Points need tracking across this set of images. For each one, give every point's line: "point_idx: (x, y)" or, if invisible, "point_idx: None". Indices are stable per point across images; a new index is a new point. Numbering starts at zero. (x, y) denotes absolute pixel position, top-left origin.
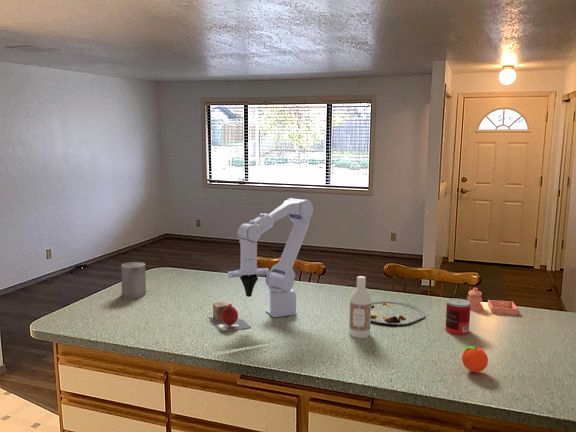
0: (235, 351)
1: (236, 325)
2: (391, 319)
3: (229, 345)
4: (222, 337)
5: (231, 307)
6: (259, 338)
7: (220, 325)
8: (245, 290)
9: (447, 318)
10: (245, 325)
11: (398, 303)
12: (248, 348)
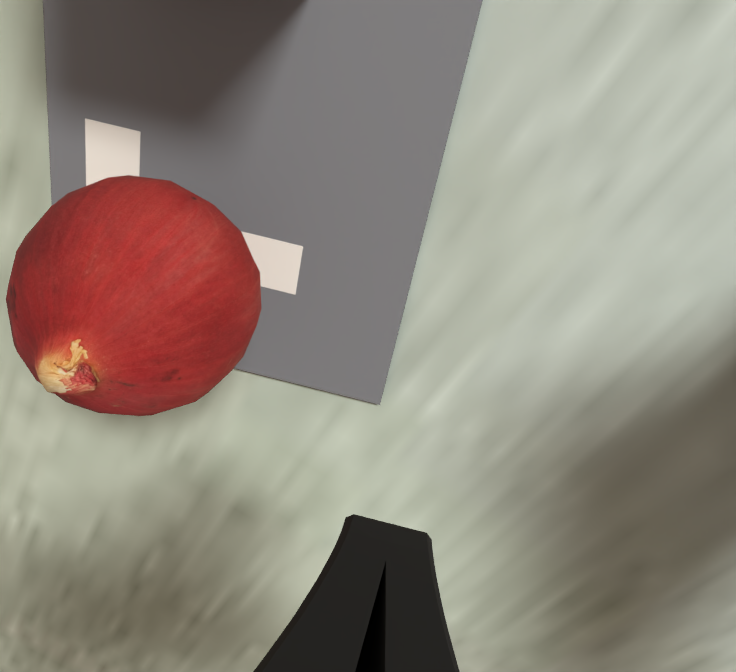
0: (65, 639)
1: (271, 272)
2: None
3: (55, 561)
4: (46, 423)
5: (94, 396)
6: None
7: (105, 164)
8: (313, 603)
9: None
10: (358, 329)
11: None
12: (159, 655)
